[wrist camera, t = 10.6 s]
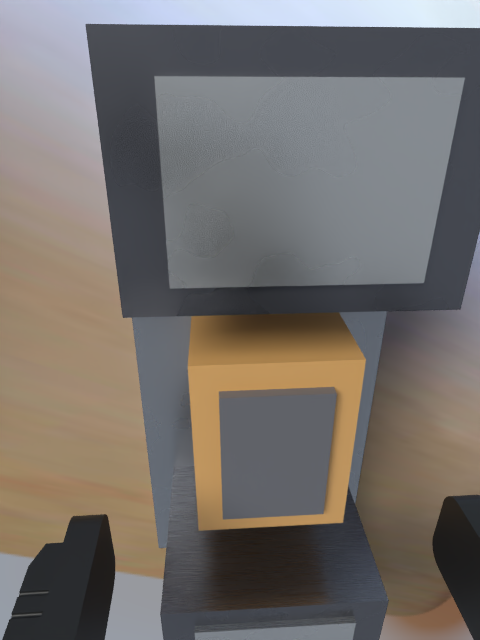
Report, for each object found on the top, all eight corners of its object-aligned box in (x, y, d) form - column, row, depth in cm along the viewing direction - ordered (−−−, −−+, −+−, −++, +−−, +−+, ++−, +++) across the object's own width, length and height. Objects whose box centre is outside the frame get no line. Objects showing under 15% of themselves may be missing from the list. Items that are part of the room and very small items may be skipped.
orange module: (193, 291, 16) (187, 373, 11) (324, 287, 16) (370, 366, 11) (200, 429, 18) (198, 539, 14) (312, 424, 19) (345, 530, 14)
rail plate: (162, 512, 23) (141, 708, 16) (114, 53, 14) (13, 21, 7) (338, 504, 24) (396, 690, 16) (402, 56, 15) (598, 27, 7)
